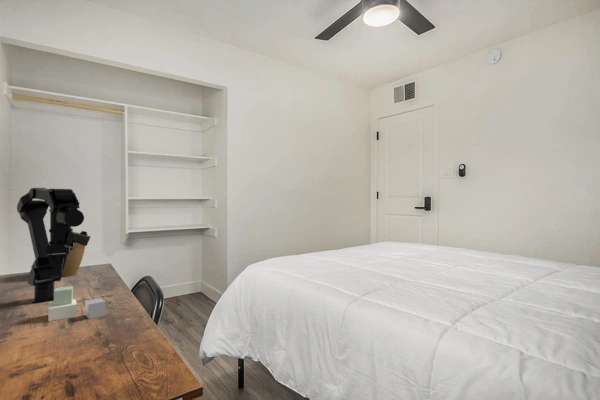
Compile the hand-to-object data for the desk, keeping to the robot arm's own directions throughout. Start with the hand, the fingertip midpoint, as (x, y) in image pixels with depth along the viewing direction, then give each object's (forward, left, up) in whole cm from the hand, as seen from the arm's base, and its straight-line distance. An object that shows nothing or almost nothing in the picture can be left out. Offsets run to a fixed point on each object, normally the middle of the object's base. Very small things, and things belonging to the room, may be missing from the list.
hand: (60, 271), depth 110 cm
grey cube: (+16, +11, -12) cm, 23 cm away
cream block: (+11, +2, -12) cm, 17 cm away
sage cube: (+10, +2, -8) cm, 13 cm away
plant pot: (-54, -3, -12) cm, 55 cm away
